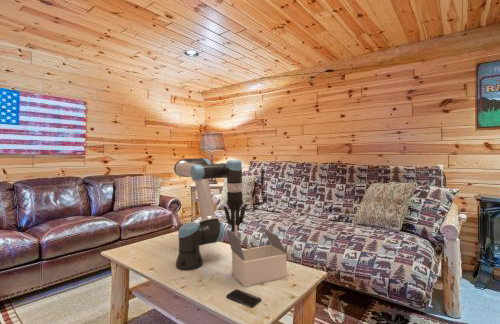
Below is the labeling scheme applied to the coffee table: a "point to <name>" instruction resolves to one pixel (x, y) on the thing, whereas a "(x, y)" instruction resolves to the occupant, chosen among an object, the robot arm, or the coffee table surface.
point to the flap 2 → (274, 240)
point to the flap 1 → (235, 244)
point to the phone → (243, 298)
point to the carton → (259, 265)
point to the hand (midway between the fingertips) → (235, 237)
